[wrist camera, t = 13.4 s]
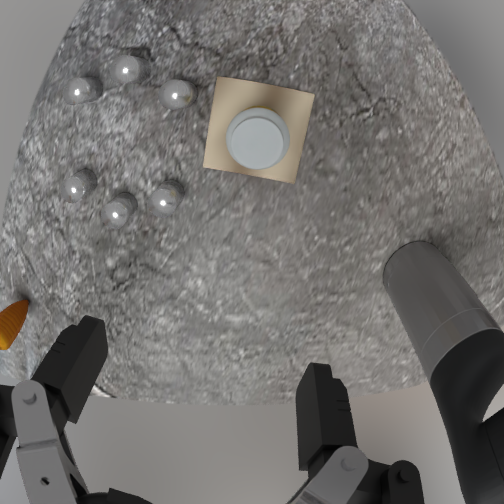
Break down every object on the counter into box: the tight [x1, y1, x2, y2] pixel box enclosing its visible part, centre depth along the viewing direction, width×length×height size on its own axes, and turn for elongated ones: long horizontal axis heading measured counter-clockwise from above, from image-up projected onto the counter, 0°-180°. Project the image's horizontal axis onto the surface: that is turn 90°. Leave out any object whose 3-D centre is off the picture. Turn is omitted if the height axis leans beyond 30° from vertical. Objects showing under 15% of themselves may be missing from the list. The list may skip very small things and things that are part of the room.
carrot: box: [0, 300, 29, 350], centre depth 38 cm, size 5×5×15 cm
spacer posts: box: [61, 55, 198, 229], centre depth 30 cm, size 14×19×4 cm
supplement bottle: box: [226, 106, 290, 170], centre depth 27 cm, size 5×5×10 cm
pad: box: [203, 76, 315, 184], centre depth 31 cm, size 10×10×1 cm
